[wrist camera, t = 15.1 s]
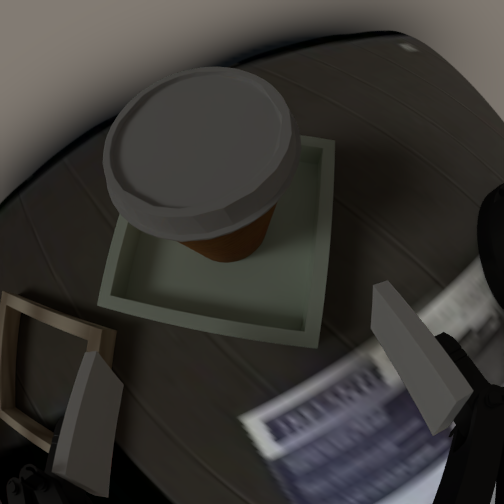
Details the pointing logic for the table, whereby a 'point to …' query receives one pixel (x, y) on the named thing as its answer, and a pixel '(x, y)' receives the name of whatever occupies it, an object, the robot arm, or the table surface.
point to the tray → (237, 268)
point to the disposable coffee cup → (203, 160)
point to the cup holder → (5, 350)
